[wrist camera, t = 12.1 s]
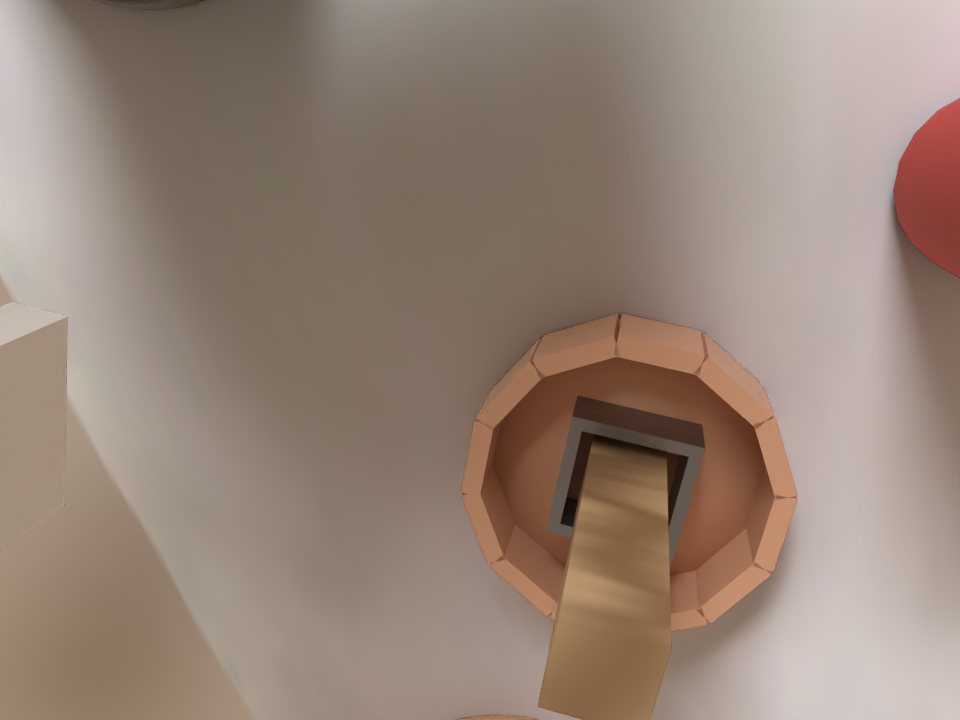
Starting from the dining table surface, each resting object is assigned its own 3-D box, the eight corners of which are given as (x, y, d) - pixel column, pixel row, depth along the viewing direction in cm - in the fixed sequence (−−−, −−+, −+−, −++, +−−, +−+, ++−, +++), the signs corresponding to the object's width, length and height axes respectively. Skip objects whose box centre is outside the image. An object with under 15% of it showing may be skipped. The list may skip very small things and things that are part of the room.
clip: (552, 504, 37) (545, 531, 35) (577, 395, 35) (571, 416, 33) (670, 533, 36) (671, 564, 34) (702, 424, 35) (705, 448, 32)
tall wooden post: (580, 488, 37) (537, 706, 23) (595, 425, 36) (558, 616, 22) (649, 505, 36) (645, 737, 23) (666, 441, 35) (671, 646, 22)
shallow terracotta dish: (460, 547, 39) (442, 588, 36) (510, 288, 35) (495, 308, 32) (732, 619, 38) (740, 670, 34) (818, 356, 34) (836, 384, 30)
